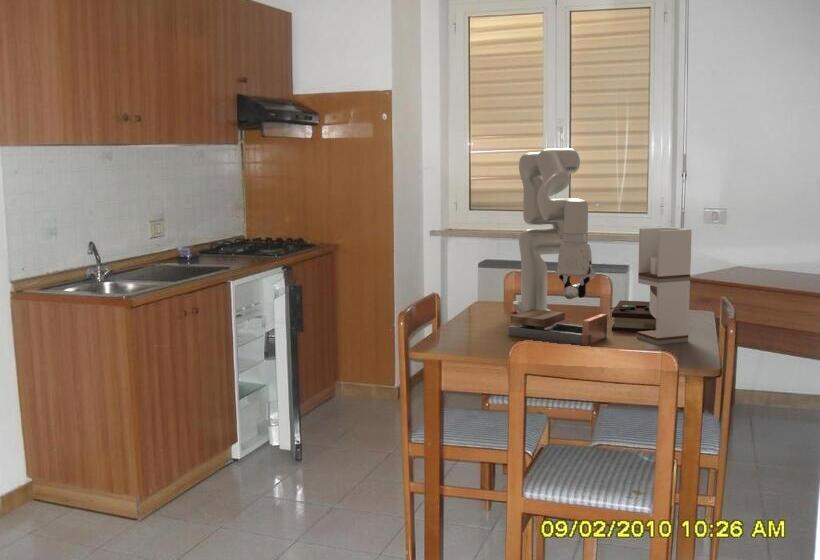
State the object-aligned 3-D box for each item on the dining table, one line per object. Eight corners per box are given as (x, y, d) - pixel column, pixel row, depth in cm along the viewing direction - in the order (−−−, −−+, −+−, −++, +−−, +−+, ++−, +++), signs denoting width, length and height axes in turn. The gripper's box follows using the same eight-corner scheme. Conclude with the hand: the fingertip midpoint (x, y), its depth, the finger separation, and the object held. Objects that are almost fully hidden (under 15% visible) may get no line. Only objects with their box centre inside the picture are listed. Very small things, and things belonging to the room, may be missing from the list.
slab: (510, 323, 277) (510, 315, 277) (532, 316, 289) (532, 309, 289) (543, 326, 270) (543, 319, 270) (564, 319, 282) (564, 312, 282)
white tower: (666, 335, 276) (669, 227, 271) (688, 341, 266) (691, 229, 261) (636, 338, 272) (639, 228, 267) (657, 344, 262) (660, 230, 257)
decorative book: (672, 299, 303) (668, 313, 275) (672, 320, 304) (667, 336, 276) (617, 297, 309) (607, 310, 281) (617, 317, 310) (606, 333, 282)
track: (508, 335, 279) (508, 312, 278) (529, 328, 290) (529, 306, 289) (588, 345, 263) (588, 321, 261) (606, 337, 274) (607, 314, 273)
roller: (563, 298, 269) (563, 285, 268) (574, 295, 275) (574, 282, 275) (574, 299, 266) (575, 287, 266) (585, 296, 273) (586, 284, 272)
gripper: (546, 239, 270) (545, 296, 273) (595, 241, 261) (594, 300, 263) (556, 237, 276) (556, 293, 279) (605, 239, 267) (604, 297, 269)
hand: (574, 296), depth 271 cm, fingers closed on roller, 4 cm apart
